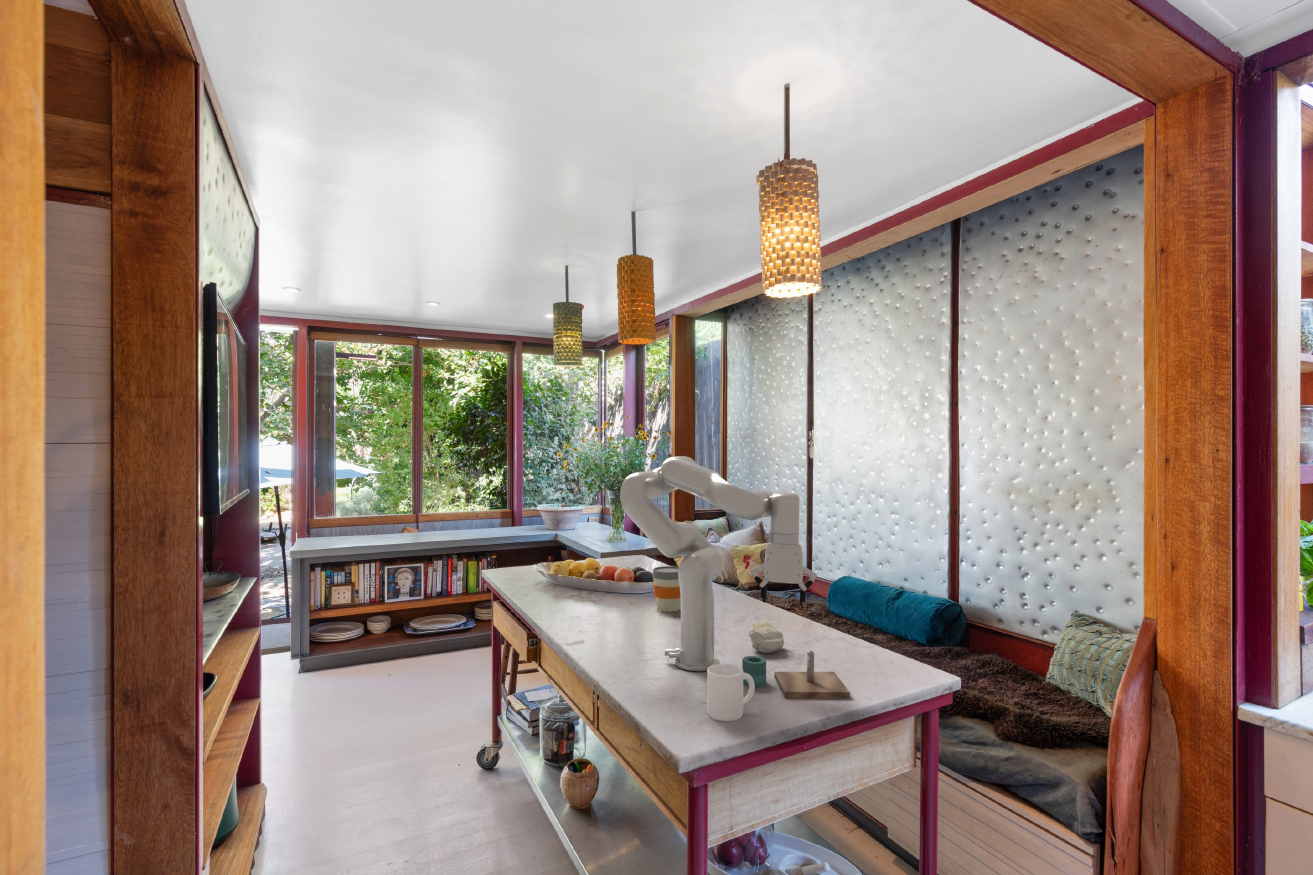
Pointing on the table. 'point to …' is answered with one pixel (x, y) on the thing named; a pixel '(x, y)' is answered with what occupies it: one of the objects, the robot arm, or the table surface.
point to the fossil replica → (766, 638)
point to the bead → (755, 670)
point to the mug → (727, 692)
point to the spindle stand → (811, 683)
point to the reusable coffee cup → (667, 588)
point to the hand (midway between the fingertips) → (782, 602)
